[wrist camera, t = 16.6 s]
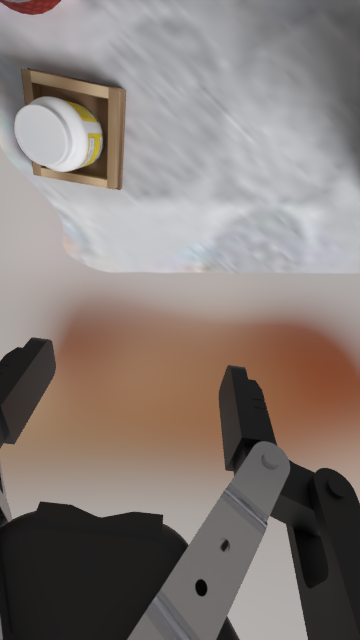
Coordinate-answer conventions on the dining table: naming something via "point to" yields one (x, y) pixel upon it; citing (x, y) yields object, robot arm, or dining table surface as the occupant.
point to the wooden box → (107, 110)
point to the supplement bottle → (59, 134)
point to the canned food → (31, 5)
